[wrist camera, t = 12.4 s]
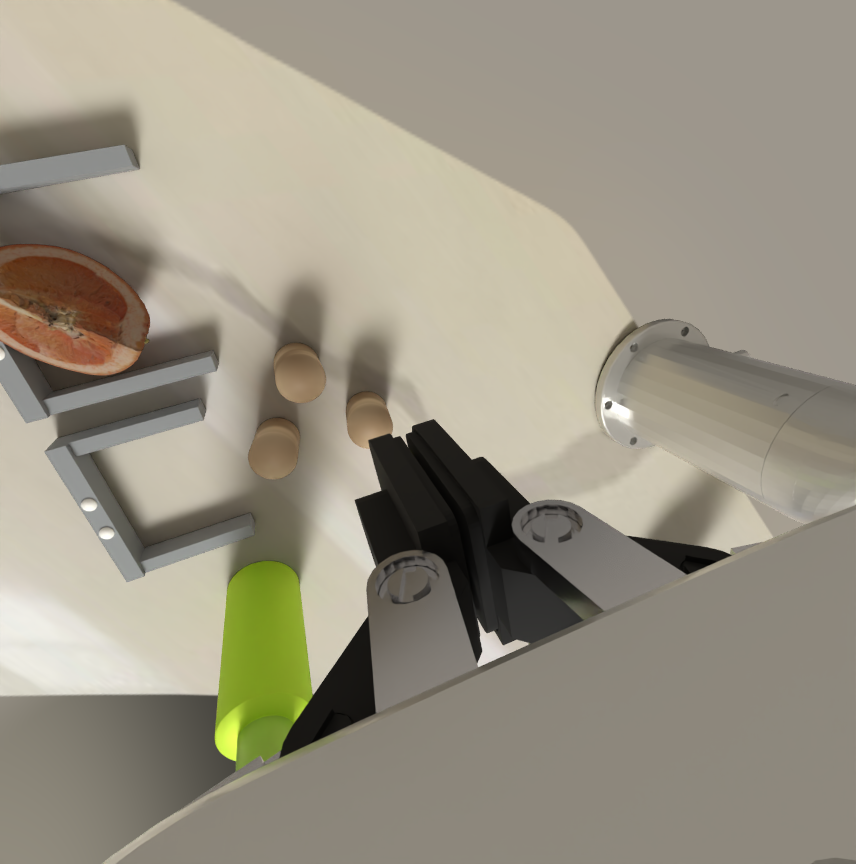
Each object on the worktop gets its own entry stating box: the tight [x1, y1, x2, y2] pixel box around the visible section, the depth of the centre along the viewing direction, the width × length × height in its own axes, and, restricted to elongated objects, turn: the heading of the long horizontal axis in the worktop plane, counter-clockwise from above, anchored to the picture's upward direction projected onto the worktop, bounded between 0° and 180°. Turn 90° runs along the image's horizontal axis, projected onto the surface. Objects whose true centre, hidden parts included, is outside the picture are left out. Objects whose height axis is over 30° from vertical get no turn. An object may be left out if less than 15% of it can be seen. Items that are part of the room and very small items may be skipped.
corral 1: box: [0, 145, 219, 423], centre depth 28 cm, size 11×13×2 cm
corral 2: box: [45, 399, 255, 582], centre depth 34 cm, size 9×11×2 cm
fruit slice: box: [0, 244, 150, 375], centre depth 27 cm, size 8×7×5 cm
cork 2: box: [274, 343, 326, 403], centre depth 33 cm, size 3×3×4 cm
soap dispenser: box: [215, 561, 313, 771], centre depth 32 cm, size 6×7×20 cm
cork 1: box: [248, 418, 300, 479], centre depth 34 cm, size 3×3×4 cm
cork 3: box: [346, 392, 393, 449], centre depth 35 cm, size 3×3×4 cm
